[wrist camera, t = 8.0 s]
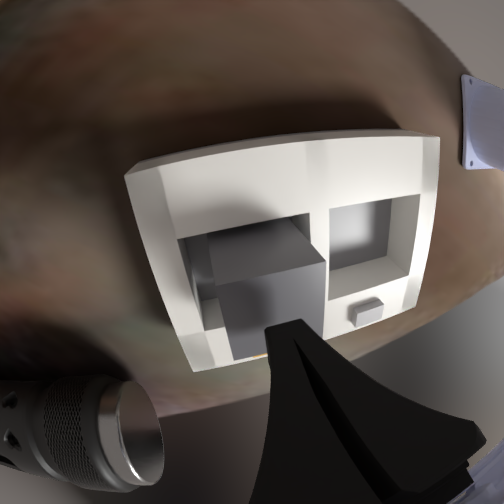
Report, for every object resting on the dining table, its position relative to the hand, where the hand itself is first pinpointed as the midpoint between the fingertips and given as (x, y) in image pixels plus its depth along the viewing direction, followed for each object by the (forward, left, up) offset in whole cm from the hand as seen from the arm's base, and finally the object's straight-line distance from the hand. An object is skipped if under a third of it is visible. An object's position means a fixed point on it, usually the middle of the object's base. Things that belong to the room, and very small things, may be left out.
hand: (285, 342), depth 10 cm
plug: (0, 0, -7) cm, 7 cm away
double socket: (-3, 0, -8) cm, 9 cm away
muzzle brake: (+24, +10, -8) cm, 27 cm away
